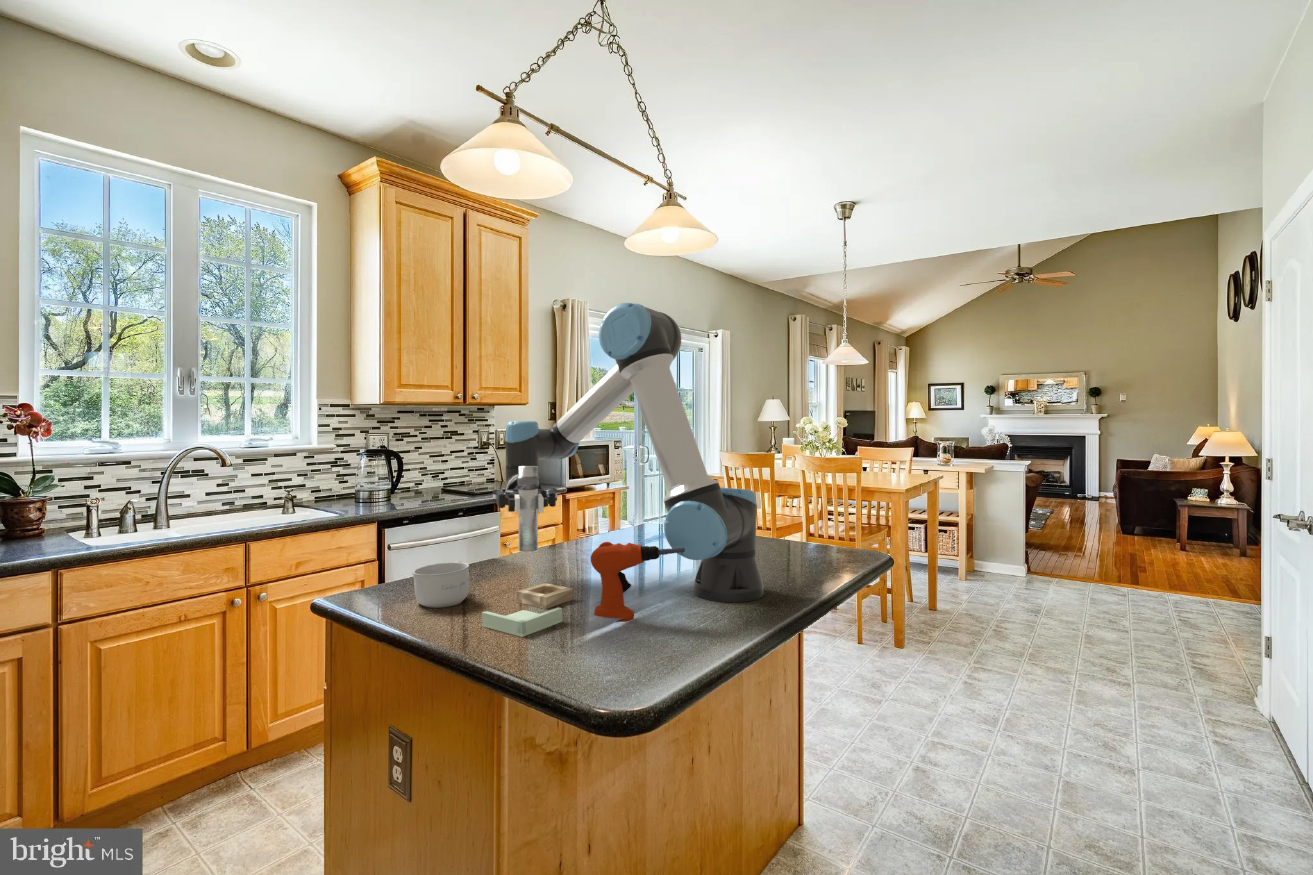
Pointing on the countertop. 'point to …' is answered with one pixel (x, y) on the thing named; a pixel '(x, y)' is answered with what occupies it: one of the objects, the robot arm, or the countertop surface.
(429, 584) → the teacup
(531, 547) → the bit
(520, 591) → the socket
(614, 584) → the toy drill
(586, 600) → the countertop surface
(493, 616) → the pale green flat tray
